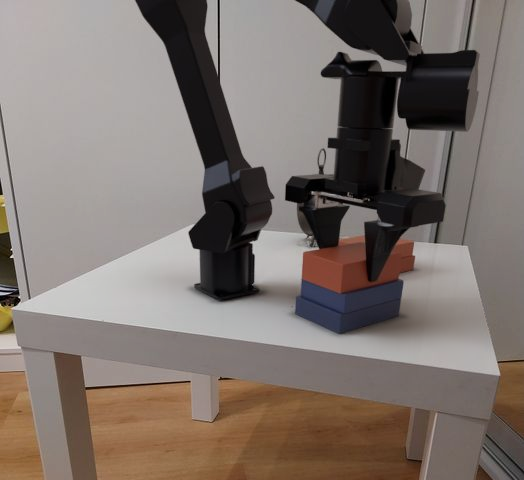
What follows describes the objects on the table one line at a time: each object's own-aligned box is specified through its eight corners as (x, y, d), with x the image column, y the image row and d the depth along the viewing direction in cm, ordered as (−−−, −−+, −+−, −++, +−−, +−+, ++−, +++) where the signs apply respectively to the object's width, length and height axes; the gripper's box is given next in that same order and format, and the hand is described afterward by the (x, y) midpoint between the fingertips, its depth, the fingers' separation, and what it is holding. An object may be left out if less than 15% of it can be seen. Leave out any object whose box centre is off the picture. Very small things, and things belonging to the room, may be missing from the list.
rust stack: (369, 280, 76) (372, 250, 74) (333, 268, 82) (335, 239, 80) (413, 269, 82) (417, 241, 80) (376, 259, 87) (380, 232, 85)
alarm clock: (316, 249, 92) (322, 150, 86) (289, 244, 95) (293, 148, 88) (342, 238, 101) (349, 147, 94) (316, 234, 103) (322, 145, 97)
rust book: (340, 293, 56) (343, 264, 55) (301, 279, 61) (302, 251, 60) (398, 279, 62) (402, 252, 60) (358, 266, 66) (360, 241, 65)
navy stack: (339, 334, 58) (342, 295, 56) (294, 313, 63) (296, 278, 61) (399, 315, 63) (404, 280, 61) (354, 298, 69) (357, 265, 67)
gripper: (490, 132, 52) (462, 283, 59) (353, 124, 66) (343, 248, 72) (419, 132, 46) (396, 301, 53) (284, 124, 59) (279, 260, 66)
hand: (350, 274), depth 61 cm, fingers closed on rust book, 6 cm apart
